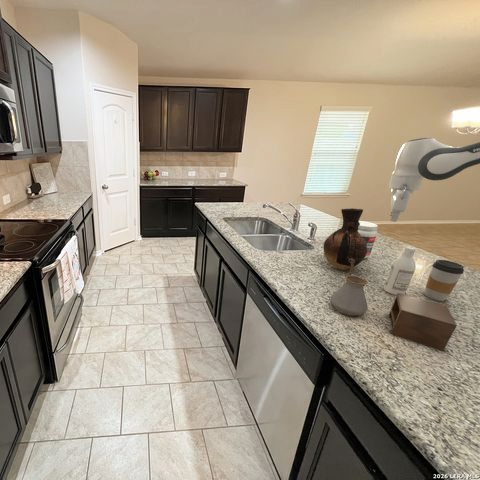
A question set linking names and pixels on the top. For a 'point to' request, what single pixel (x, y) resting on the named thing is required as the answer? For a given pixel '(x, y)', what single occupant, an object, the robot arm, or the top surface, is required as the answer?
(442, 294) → the coffee cup
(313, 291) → the top surface
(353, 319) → the top surface
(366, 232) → the supplement tub
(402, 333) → the shelf
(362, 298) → the coffee pot
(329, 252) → the ceramic vessel
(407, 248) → the bath foam
